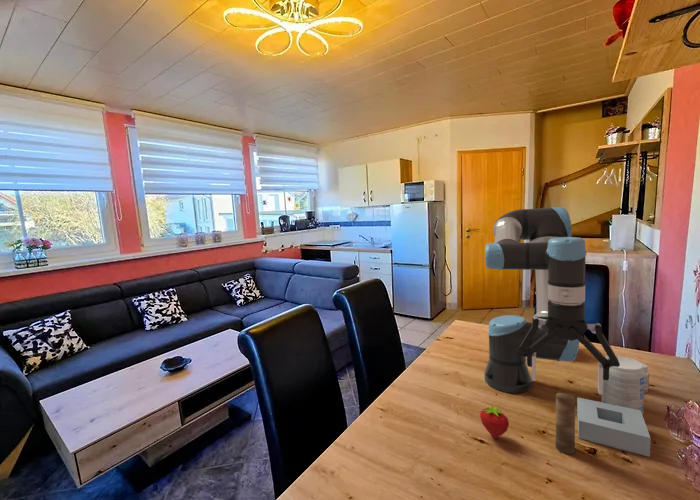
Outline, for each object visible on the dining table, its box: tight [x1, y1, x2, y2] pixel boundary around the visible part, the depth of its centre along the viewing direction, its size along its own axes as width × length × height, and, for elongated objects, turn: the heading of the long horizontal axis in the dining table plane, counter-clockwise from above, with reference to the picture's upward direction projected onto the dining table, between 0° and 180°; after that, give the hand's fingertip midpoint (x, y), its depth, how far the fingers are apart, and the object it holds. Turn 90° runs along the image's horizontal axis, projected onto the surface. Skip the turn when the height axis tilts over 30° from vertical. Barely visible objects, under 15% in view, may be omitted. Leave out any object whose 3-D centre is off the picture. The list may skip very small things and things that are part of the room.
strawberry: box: [479, 403, 510, 439], centre depth 87 cm, size 6×8×10 cm
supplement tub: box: [601, 355, 645, 415], centre depth 95 cm, size 10×10×15 cm
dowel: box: [555, 392, 576, 456], centre depth 81 cm, size 4×4×14 cm
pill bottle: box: [640, 362, 650, 394], centre depth 104 cm, size 5×5×8 cm
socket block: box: [576, 397, 651, 458], centre depth 86 cm, size 14×12×5 cm
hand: (565, 384), depth 80 cm, fingers open, 13 cm apart
